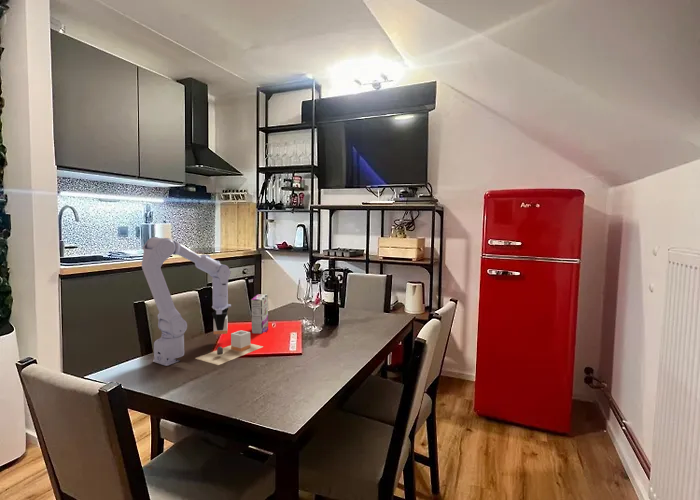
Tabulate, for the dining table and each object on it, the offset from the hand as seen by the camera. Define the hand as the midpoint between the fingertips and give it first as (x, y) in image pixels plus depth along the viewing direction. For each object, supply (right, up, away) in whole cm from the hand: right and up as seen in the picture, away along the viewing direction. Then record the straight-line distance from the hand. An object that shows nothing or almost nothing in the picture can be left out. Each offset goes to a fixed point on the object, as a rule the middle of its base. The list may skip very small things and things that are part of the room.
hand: (220, 328), depth 152 cm
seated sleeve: (+10, -6, -6) cm, 13 cm away
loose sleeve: (0, -2, 0) cm, 2 cm away
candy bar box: (+11, -6, +18) cm, 22 cm away
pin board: (+7, -8, -11) cm, 15 cm away
